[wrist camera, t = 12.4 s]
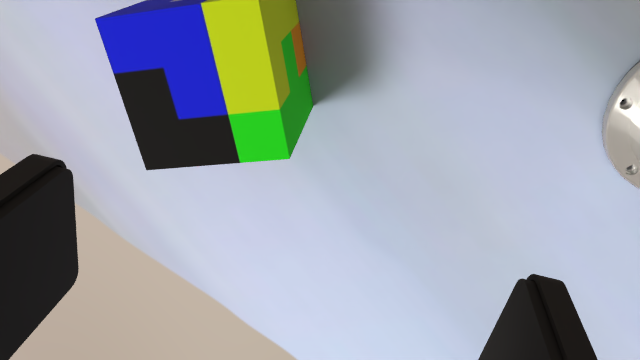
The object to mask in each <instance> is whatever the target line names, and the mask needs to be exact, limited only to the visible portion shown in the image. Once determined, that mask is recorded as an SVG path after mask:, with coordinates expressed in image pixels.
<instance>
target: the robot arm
mask: <svg viewBox="0 0 640 360" xmlns="http://www.w3.org/2000/svg"><path fill="white" fill-rule="evenodd" d="M623 99H625V100H624V101H623V102H622V103H620V102H621V101H622V100H623ZM602 137H603V146H604V148H605V151H606V154H607V156H608V159H609V160H610V162H611V163H612V165H613V166H614V167H615V169H616V170H617V171H618V172H619V174H620V175H621V176H622V177H623V178H624V179H625V180H627V181H628V182H630V183H631V184H632V185H634V186H635V187H637V188H639V189H640V62H639V63H637V64H636V65H635V66H634V67H633V68H632V69H631V70H630V71H629V72H628V73H627V74H626V76H625V77H624V78H623V79H622V81H621V82H620V83H619V84H618V86H617V87H616V89H615V91H614V93H613V94H612V96H611V98H610V100H609V102H608V105H607V108H606V111H605V114H604V117H603V126H602ZM628 166H629V167H628ZM77 275H78V254H77V237H76V220H75V203H74V185H73V174H72V172H71V170H69V169H66V165H65V163H64V162H63V161H61V160H58V159H54V158H49V157H45V156H41V155H37V154H32V155H30V156H28V157H26V158H25V159H23V160H22V161H20V162H19V163H17V164H16V165H14V166H13V167H11V168H10V169H8V170H7V171H5V172H4V173H2V174H1V175H0V360H9V359H10V357H11V356H12V355H13V354H14V353H15V352H16V350H17V349H18V348H19V347H20V346H21V345H22V343H23V342H24V341H25V340H26V339H27V338H28V337H29V336H30V334H31V333H32V332H33V331H34V330H35V329H36V328H37V326H38V325H39V324H40V323H41V322H42V321H43V320H44V318H45V317H46V316H47V315H48V314H49V313H50V311H51V310H52V309H53V308H54V307H55V306H56V305H57V303H58V302H59V301H60V300H61V299H62V298H63V296H64V295H65V294H66V293H67V292H68V291H69V290H70V289H71V287H72V286H73V285H74V283H75V281H76V278H77ZM478 360H597V357H596V355H595V353H594V350H593V348H592V346H591V343H590V341H589V339H588V337H587V334H586V332H585V330H584V327H583V325H582V323H581V320H580V318H579V316H578V314H577V311H576V309H575V307H574V304H573V302H572V300H571V297H570V295H569V293H568V291H567V288H566V286H565V284H564V283H563V282H562V281H560V280H556V279H552V278H548V277H544V276H540V275H536V274H532V275H530V276H529V277H528V278H527V280H526V279H519V280H518V282H517V283H516V285H515V287H514V289H513V291H512V293H511V295H510V297H509V299H508V301H507V303H506V305H505V307H504V309H503V311H502V313H501V315H500V317H499V319H498V321H497V323H496V325H495V327H494V329H493V331H492V333H491V335H490V337H489V339H488V341H487V343H486V345H485V347H484V349H483V351H482V353H481V355H480V357H479V359H478Z"/></svg>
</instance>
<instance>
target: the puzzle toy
mask: <svg viewBox="0 0 640 360" xmlns="http://www.w3.org/2000/svg"><path fill="white" fill-rule="evenodd" d="M95 20H96V23H97V26H98V29H99V32H100V35H101V38H102V41H103V44H104V47H105V50H106V53H107V56H108V59H109V62H110V64H111V67H112V70H113V73H114V76H115V79H116V82H117V85H118V88H119V91H120V94H121V97H122V100H123V103H124V106H125V109H126V112H127V114H128V117H129V120H130V123H131V126H132V129H133V132H134V135H135V138H136V141H137V144H138V147H139V150H140V153H141V156H142V159H143V161H144V164H145V167H146V170H155V169H167V168H180V167H193V166H205V165H218V164H230V163H243V162H256V161H268V160H281V159H290V157H291V154H292V152H293V150H294V148H295V145H296V143H297V141H298V139H299V137H300V134H301V132H302V130H303V128H304V125H305V123H306V121H307V119H308V116H309V114H310V112H311V110H312V107H313V102H312V96H311V90H310V84H309V78H308V72H307V66H306V60H305V54H304V47H303V41H302V35H301V29H300V23H299V17H298V11H297V5H296V0H146V1H143V2H140V3H137V4H134V5H132V6H129V7H126V8H123V9H121V10H118V11H115V12H112V13H109V14H107V15H104V16H101V17H98V18H95Z"/></svg>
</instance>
